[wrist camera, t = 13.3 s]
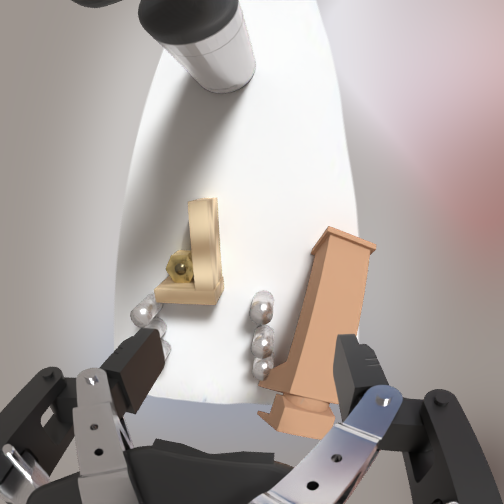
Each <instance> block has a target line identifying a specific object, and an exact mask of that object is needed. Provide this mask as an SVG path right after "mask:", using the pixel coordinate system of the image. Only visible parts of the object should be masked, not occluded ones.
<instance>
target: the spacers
mask: <svg viewBox="0 0 504 504" xmlns="http://www.w3.org/2000/svg"><path fill="white" fill-rule="evenodd" d="M273 305H274V298H273V296H272V294H271V293H269V292H268V291H259V292H257V293H256V294H255V295H254V297H253V301H252V305H251V309H250V318H251V320H252V321H253V322H254V323H256V324H259V325H260V326H258V327H257V328H256V329H255V332H254V337H253V342H252V348H251V352H252V354H253V355H254V356H255V359H254V365H253V371H252V374H253V376H254V377H255V378H256V379H258V380H261V381H265V380H266V379H267V377H268V375H269V373H270V371H271V369H272V368H273V364H274V353H273V341H274V331H273V329H272V328H271V327H270V326H268V325H264V324H267V323H269V322H270V321H271V319H272V316H273ZM162 307H163V303H157V302H156V299H155V294H150V295H148V296H147V297H146V298H145V299H144V300H143V301H142V302H141V303H139V304H138V305H137V306H136V307H135V308H134V309H133V310H132V311H131V313H130V317H131V320H132V322H133V323H134V324H135V325H136V326H138V327H145V326H146V327H145V328H153V329H158V331H159V333H160V338H161V337H162V336H163V334H164V333H165V332H166V330H167V325H166V323H165V322H164V320H162V319H161V318H154V317H155V315H156V314H157V313H158V312H159V311H160V310H161V309H162ZM161 342H162V347H163V352H164V356H165V359H166V358H167V356H168V354H169V353H170V351H171V346H170V344H169V343H168V342H167V341H165V340H162V339H161Z"/></svg>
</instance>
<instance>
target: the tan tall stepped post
mask: <svg viewBox="0 0 504 504" xmlns="http://www.w3.org/2000/svg"><path fill="white" fill-rule="evenodd" d="M375 250H376V244H373V243H371V242H369V241H366V240H364V239H361V238H358V237H356V236H353V235H351V234H348V233H346V232H343V231H341V230H338V229H335V228H333V227H330V226H328V228H327V229H326V230H325V232H324V233H323V235H322V236H321V237H320V239H319V240H318V242H317V243H316V244H315V246H314V247H313V249H312V252H311V254H312V255H315V258H314V262H313V266H312V270H311V274H310V278H309V282H308V286H307V290H306V294H305V298H304V302H303V306H302V309H301V313H300V317H299V320H298V324H297V327H296V331H295V334H294V338H293V341H292V345H291V348H290V352H289V355H288V358H287V361H286V362H284V363H282V364H280V365H278V366H276V367H274V368H272V369H271V371H270V373H269V375H268V377H267V379H266V380H265V381H261V380H260V381H259V384H258V386H260V387H263V388H267V389H270V390H274V391H278V392H281V393H283V395H279V394H276V396H275V399H274V402H273V405H272V408H271V412H270V414H269V413H265V412H261V411H258V413H257V414H258V415H259V416H260V417H261V418H262V419H263V420H265V421H266V422H267V423H268V424H269V425H270V426H272V427H273V428H274V429H275V430H276V431H279V432H283V433H288V434H293V435H297V436H303V437H308V438H314V439H320V440H322V439H323V437H324V436H325V435H326V434H327V433H328V432H329V431H330V429H331V428H332V426H333V423H334V420H335V416H334V415H333V413H332V411H331V409H330V407H329V404H330V403H334V404H339V402H338V397H337V392H336V387H335V382H334V377H333V362H334V354H335V347H336V339H337V335H338V334H355V335H357V331H358V326H359V320H360V315H361V309H362V304H363V298H364V292H365V286H366V279H367V272H368V265H369V257H370V255H371V254H372V253H373V252H374V251H375Z"/></svg>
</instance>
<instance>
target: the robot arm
mask: <svg viewBox="0 0 504 504" xmlns="http://www.w3.org/2000/svg"><path fill="white" fill-rule="evenodd" d="M72 1H74V2H75V3H77V4H79V5H81V6H84V7H90V8H100V7H104V6H108V5H111V4H114V3H117V2H119V1H122V0H72ZM138 16H139V20H140V23H141V25H142V26H143V28H144V29H145V30H146V31H147V32H148V33H149V34H150V35H151V36H152V37H153V38H154V39H155V40H156V41H157V42H158V43H159V44H161V45H162V47H163V48H165V49H166V50H167V51H168V52H169V53H170V54H171V55H172V56H173V57H174V58H175V59H176V60H177V61H178V62H179V63H180V64H181V65H182V66H183V67H184V68H185V69H186V70H187V71H188V72H189V73H190V75H191V76H192V77H193V78H194V79H195V80H196V81H197V82H198V83H199V84H200V85H201V86H202V87H203V88H205V89H206V90H208V91H211V92H215V93H229V92H233V91H235V90H238V89H240V88H241V87H243V86H244V85H245V84H247V83H248V82H249V80H250V79H251V78H252V76H253V74H254V72H255V67H256V64H255V57H254V54H253V49H252V45H251V42H250V38H249V34H248V30H247V27H246V23H245V20H244V16H243V12H242V9H241V6H240V3H239V0H141V2H140V4H139V9H138ZM164 364H165V356H164V352H163V347H162V342H161V338H160V333H159V331H158V329H153V328H141V329H140V330H139V331H138V332H137V333H136V334H135V335H134V336H132V337H130V338H128V339H126V340H125V341H123V342H122V343H121V344H120V345H119V347H118V348H117V349H116V350H115V351H114V353H113V354H111V356H110V357H109V358H108V359H107V360H106V361H105V362H104V363H103V364H102V366H101V367H100V368H90V369H86V370H84V371H82V372H81V373H80V374H79V375H78V376H77V378H64V376H63V373H62V371H61V370H60V369H59V368H57V367H48V368H45V369H42V370H41V371H40V372H38V373H37V374H36V375H35V377H33V378H32V380H31V381H30V382H29V383H28V384H27V385H26V386H25V387H24V388H23V389H22V390H21V391H20V392H19V393H18V394H17V395H16V397H14V398H13V400H12V401H11V402H10V403H9V404H8V405H7V406H6V407H5V408H4V409H3V410H2V412H1V413H0V499H2V500H3V501H5V502H6V503H7V504H345V502H346V501H347V500H348V499H349V497H350V496H351V495H352V493H353V492H354V490H355V489H356V487H357V485H358V484H359V483H360V481H361V480H362V478H363V477H364V475H365V474H366V472H367V471H368V469H369V468H370V466H371V465H372V463H373V462H374V461H375V459H376V457H377V456H378V454H379V453H380V451H381V450H389V451H401V452H402V453H403V458H404V462H405V466H406V470H407V475H408V480H409V485H410V489H411V495H412V500H413V504H503V503H502V500H501V497H500V494H499V491H498V488H497V486H496V483H495V480H494V477H493V475H492V472H491V470H490V467H489V465H488V462H487V460H486V458H485V456H484V453H483V451H482V449H481V446H480V444H479V442H478V440H477V438H476V436H475V433H474V432H473V429H472V427H471V425H470V423H469V421H468V419H467V417H466V415H465V413H464V411H463V409H462V407H461V406H460V404H459V402H458V400H457V398H456V397H455V395H454V394H452V393H451V392H449V391H446V390H442V389H435V390H432V391H430V392H428V393H427V394H426V395H425V397H424V400H420V399H407V398H403V397H402V394H401V392H399V390H398V389H396V388H394V387H392V386H389V384H388V382H387V379H386V377H385V375H384V372H383V370H382V368H381V366H380V364H379V361H378V359H377V357H376V355H375V352H374V350H372V349H371V348H370V347H369V346H367V345H366V344H360V345H359V343H358V340H357V338H356V335H355V334H338V335H337V339H336V347H335V354H334V362H333V377H334V382H335V387H336V392H337V397H338V402H339V407H340V412H341V417H342V424H341V423H336V424H335V425H334V426H333V427H332V428H331V429H330V431H329V432H328V433H327V434H326V435H325V436H324V437H323V439H322V440H321V441H320V442H319V443H318V444H317V445H316V446H315V447H314V448H313V449H312V450H311V451H310V453H309V454H308V455H307V456H306V457H305V458H304V459H303V460H302V461H301V462H300V463H299V464H298V465H297V466H296V467H295V468H294V467H292V466H289V465H287V464H284V463H281V462H277V461H274V453H262V452H244V451H243V452H235V453H234V452H233V453H222V454H208V453H205V452H202V451H200V450H197V449H194V448H192V447H189V446H187V445H184V444H181V443H175V442H170V441H165V440H161V439H155V441H154V443H153V445H152V446H142V447H137V448H134V446H133V443H132V440H131V437H130V434H129V431H128V427H127V424H126V421H125V418H124V416H123V415H124V414H125V412H129V413H133V414H136V413H137V411H138V410H139V408H140V406H141V405H142V402H143V401H144V399H145V398H146V396H147V395H148V393H149V391H150V390H151V388H152V386H153V385H154V383H155V381H156V380H157V378H158V376H159V375H160V373H161V371H162V370H163V368H164ZM49 406H50V408H51V409H52V411H53V413H54V414H53V415H52V417H51V418H50V419H49V421H48V422H47V423H46V425H45V426H44V427H42V425H41V416H42V415H43V413H44V412H45V411H46V410H47V409H48V407H49ZM74 436H75V443H76V450H77V457H78V464H79V470H80V471H79V472H77V473H74V474H72V475H69V476H66V477H64V478H61V479H58V480H55V481H53V482H50V483H49V477H50V475H51V473H52V472H53V470H54V468H55V467H56V465H57V463H58V462H59V460H60V458H61V457H62V455H63V454H64V452H65V450H66V449H67V447H68V446H69V444H70V442H71V441H72V439H73V438H74Z"/></svg>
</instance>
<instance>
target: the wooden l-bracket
mask: <svg viewBox="0 0 504 504" xmlns="http://www.w3.org/2000/svg"><path fill="white" fill-rule="evenodd" d="M188 214H189V227H190V240H191V251H192V262H193V272H194V278H193V280H192V281H191V282H190V283H174V281H173V280H172V278H171V277H170V276H168V277H167V278H166V279H165V280H164V281H163V282H162V283H161V284H160V285H158V286H157V287H156V288H155V289H154V293H155V299H156V302H157V303H177V304H202V305H216V303H217V301H218V299H219V298H220V296H221V294H222V292H223V290H224V281H223V277H222V267H221V253H220V237H219V221H218V203H217V198H200V199H197V200H193V201H189V202H188Z"/></svg>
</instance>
